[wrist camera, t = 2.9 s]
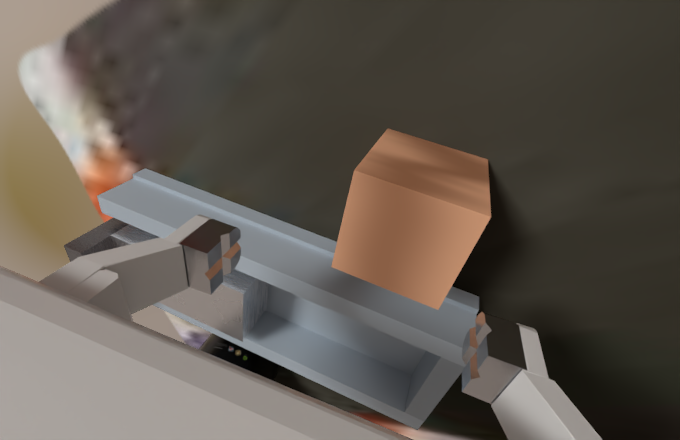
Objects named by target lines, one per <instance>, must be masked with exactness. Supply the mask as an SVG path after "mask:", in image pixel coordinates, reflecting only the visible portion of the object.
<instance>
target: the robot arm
mask: <svg viewBox="0 0 680 440" xmlns="http://www.w3.org/2000/svg"><path fill="white" fill-rule="evenodd" d="M240 238H241V233H240V229H238V228H237V227H234V226H231V225H229V224H226V223H223V222H220V221H218V220H215V219H211V218H209V217H206V216H203V215H201V214H200V215H196V216H194V217H193V218H191V219H190V220H189V221H187V222H186V223H185V224H183V225H182V226H181V227H179V228H178V229H177V230H175V231H174V232H173V233H171V234H170V235H168V236H167V237H166V238H161V237H159V238H155V239H151V240H147V241H143V242H139V243H134V244H130V245H126V246H122V247H118V248H114V249H109V250H105V251H101V252H97V253H93V254H89V255H84V256H80V257H78V258H76V259H75V260H73V261H71V262H70V263H68V264H67V265H65V266H63V267H62V268H60V269H59V270H57V271H55V272H54V273H52V274H51V275H49V276H47V277H46V278H44V279H43V280H41V281H39V282H37V281H35V280H33V279H30V278H28V277H26V276H23V275H21V274H18V273H16V272H14V271H11V270H9V269H7V268H4V267H2V266H0V440H412V439H410V438H408V437H405V436H403V435H401V434H398V433H396V432H393V431H391V430H389V429H386V428H384V427H382V426H379V425H377V424H374V423H372V422H370V421H367V420H365V419H362V418H360V417H358V416H355V415H353V414H351V413H348V412H346V411H343V410H341V409H339V408H336V407H334V406H332V405H329V404H327V403H324V402H322V401H320V400H317V399H315V398H313V397H310V396H308V395H305V394H303V393H301V392H298V391H296V390H294V389H291V388H289V387H286V386H284V385H282V384H279V383H277V382H275V381H272V380H270V379H267V378H265V377H263V376H260V375H258V374H256V373H253V372H251V371H248V370H246V369H244V368H241V367H239V366H237V365H234V364H232V363H229V362H227V361H225V360H222V359H220V358H218V357H215V356H213V355H211V354H208V353H206V352H203V351H201V350H199V349H196V348H194V347H192V346H189V345H187V344H184V343H182V342H179V341H177V340H175V339H172V338H170V337H168V336H165V335H163V334H160V333H158V332H156V331H154V330H151V329H149V328H146V327H144V326H142V325H139V324H137V323H135V322H133V319H132V316H131V314H133V313H135V312H137V311H140V310H142V309H144V308H146V307H148V306H150V305H153V304H155V303H157V302H159V301H161V300H164V299H166V298H168V297H170V296H172V295H174V294H177V293H179V292H181V291H183V290H185V289H188V287H190V288H193V289H196V290H199V291H202V292H205V293H207V294H210V295H211V294H212V293H213V292H214V291H215V290H216V289H217V288H218V287H219V286H220V284H221V283H222V282H223V276H224V275H226V274H229V273H231V272H232V271H233V270H234V269H235V268H236V266H237V264H238V262H239V260H240V256H241V247H240V246H239V244H238V242H237V241H238V240H239V239H240ZM475 324H476V327H473V328H470V329H469V331H468V332H467V334H466V336H465V339H464V342H463V347H462V359H463V361H464V363H465V364H466V366H465V367H464V369H463V370H462V392H463V393H466V394H468V395H471V396H473V397H475V398H478V399H480V400H483V401H485V402H488V403H490V404H492V405H491V407H492V409H493V411H494V412H495V414H496V416H497V418H498V420H499V422H500V424H501V426H502V428H503V430H504V432H505V434H506V436H507V438H508V440H602V439H601V437H600V436H599V435H598V434H597V432H596V431H595V430H594V429H593V428H592V426H591V425H590V424H589V423H588V421H587V420H586V419H585V418H584V417H583V415H582V414H581V413H580V412H579V410H578V409H577V408H576V407H575V405H574V404H573V403H572V402H571V401H570V399H569V398H568V397H567V396H566V394H565V393H564V392H563V391H562V390H561V388H560V387H559V386H558V385H557V383H556V382H555V381H553V380H551V379H549V377H548V373H547V369H546V365H545V361H544V357H543V353H542V349H541V345H540V341H539V337H538V333H537V331H536V330H535V329H534V328H531V327H528V326H525V325H521V324H518V323H515V322H512V321H509V320H506V319H503V318H500V317H497V316H494V315H491V314H488V313H485V312H481V313H480V314H479V315H478V316H477V318H476V319H475Z"/></svg>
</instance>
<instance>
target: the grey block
mask: <svg viewBox="0 0 680 440" xmlns="http://www.w3.org/2000/svg"><path fill="white" fill-rule="evenodd" d="M155 238H159V237H158V236H156V235H153V234H151V233H149V232H146V231H144V230H142V229H139V228H137V227H135V226H132V225H130V224H128V223H125V222H123V221H121V220H118V219H116V218H112V219H110V220H109V221H107V222H105V223H103V224H101V225H100V226H98V227H96V228H94V229H93V230H91V231H89V232H87V233H85V234H84V235H82V236H80V237H78V238H77V239H75V240H73V241H71V242H69V243H68V244H66V245H64V247H65V250H66V252H67V255H68V257H69V259H70V262H71V261H73V260H75V259H76V258H78V257H80V256H84V255H89V254H93V253H97V252H101V251H105V250H109V249H114V248H118V247H122V246H126V245H130V244H134V243H139V242H143V241H147V240H151V239H155ZM268 295H269V284H268V283H266V282H264V281H261V280H259V279H257V278H254V277H252V276H250V275H247V274H245V273H243V272H240V271H238V270H236V269H234V270H233V271H232V272H231V273H229V274H226V275H224V276H223V282H222V283H221V284H220V286H219V287H218V288H217V289H216V290H215V291H214V292H213V293H212V294H211V295H210V294H207V293H205V292H202V291H199V290H196V289H193V288H190V287H188V289H185V290H183V291H181V292H179V293H177V294H174V295H172V296H170V297H168V298H166V299H164V300H161V301H159V303H161V304H163V305H165V306H167V307H169V308H172V309H174V310H176V311H178V312H180V313H182V314H184V315H187V316H189V317H191V318H193V319H195V320H197V321H199V322H201V323H204V324H206V325H208V326H210V327H212V328H214V329H216V330H218V331H221V332H223V333H225V334H227V335H229V336H231V337H233V338H236V339H238V340H240V341H242V342H243V340H244V339H245V338H246V336H247V335H248V333H249V332H250V331H251V329H252V328H253V327H254V325H255V324H256V322H257V321H258V320H259V318H260V317H261V315H262V314H263V313H264V311H265V310H266V308H267V307H268Z"/></svg>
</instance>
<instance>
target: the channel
mask: <svg viewBox="0 0 680 440" xmlns="http://www.w3.org/2000/svg"><path fill="white" fill-rule="evenodd" d="M97 197H98V201H99V204H100V207H101V211H102V213H104V214H106V215H109V216H111V217H114V218H116V219H118V220H121V221H123V222H125V223H128V224H130V225H132V226H135V227H137V228H139V229H142V230H144V231H146V232H149V233H151V234H153V235H156V236H158V237H161V238H166V237H167V236H168V235H170V234H171V233H173V232H174V231H175V230H177V229H178V228H179V227H181V226H182V225H183V224H185V223H186V222H187V221H189V220H190V219H191V218H193V217H194V216H196V215H200V214H201V215H203V216H206V217H209V218H211V219H215V220H218V221H220V222H223V223H226V224H229V225H231V226H234V227H237V228H238V229H240V233H241V238H240V239H239V240H238V241H237V242H238V244H239V246H240V247H241V256H240V260H239V262H238V264H237V266H236V268H235V269H236V270H238V271H240V272H243V273H245V274H247V275H250V276H252V277H254V278H257V279H259V280H261V281H264V282H266V283H268V284H269V295H268V307H267V308H266V310H265V311H264V313H263V314H262V315H261V317H260V318H259V320H258V321H257V322H256V324H255V325H254V327H253V328H252V329H251V331H250V332H249V333H248V335H247V336H246V338H245V339H244V340H243V342H242V341H240V340H238V339H236V338H233V337H231V336H229V335H227V334H225V333H223V332H221V331H218V330H216V329H214V328H212V327H210V326H208V325H206V324H204V323H201V322H199V321H197V320H195V319H193V318H191V317H189V316H187V315H184V314H182V313H180V312H178V311H176V310H174V309H172V308H169V307H167V306H165V305H163V304H161V303H159V302H157V303H155V304H153V305H154V306H156V307H158V308H160V309H162V310H164V311H167V312H169V313H171V314H173V315H175V316H177V317H179V318H181V319H184V320H186V321H188V322H190V323H192V324H194V325H196V326H198V327H200V328H203V329H205V330H207V331H209V332H211V333H213V334H215V335H217V336H219V337H222V338H224V339H226V340H228V341H230V342H232V343H234V344H236V345H238V346H241V347H243V348H245V349H247V350H249V351H251V352H253V353H255V354H258V355H260V356H262V357H264V358H266V359H268V360H270V361H272V362H274V363H277V364H279V365H281V366H283V367H285V368H287V369H289V370H291V371H293V372H296V373H298V374H300V375H302V376H304V377H306V378H308V379H310V380H313V381H315V382H317V383H319V384H321V385H323V386H325V387H327V388H329V389H332V390H334V391H336V392H338V393H340V394H342V395H344V396H346V397H348V398H351V399H353V400H355V401H357V402H359V403H361V404H363V405H365V406H367V407H370V408H372V409H374V410H376V411H378V412H380V413H382V414H384V415H387V416H389V417H391V418H393V419H395V420H397V421H399V422H401V423H403V424H406V425H408V426H410V427H412V428H414V429H416V430H418V429H419V427H420V426H421V425H422V424H423V422H424V421H425V420H426V418H427V417H428V416H429V414H430V413H431V412H432V410H433V409H434V408H435V407H436V405H437V404H438V403H439V401H440V400H441V399H442V397H443V396H444V395H445V394H446V392H447V391H448V390H449V388H450V387H451V386H452V384H453V383H454V382H455V381H456V379H457V378H458V377H459V375H460V374H461V373H462V370H463V369H464V367H465V366H466V364H465V363H464V361H463V359H462V347H463V342H464V339H465V336H466V334H467V332H468V331H469V329H470V328H473V327H476V324H475V319H476V314H477V312H478V311H479V297H478V296H476V295H473V294H471V293H468V292H465V291H463V290H460V289H458V288H455V287H451V289H450V290H449V292H448V294H447V296H446V297H445V299H444V301H443V303H442V304H441V306H440V308H439V310H437V309H434V308H432V307H429V306H427V305H424V304H422V303H419V302H417V301H414V300H412V299H409V298H407V297H404V296H402V295H399V294H397V293H394V292H392V291H390V290H387V289H385V288H382V287H380V286H377V285H375V284H372V283H370V282H367V281H365V280H362V279H360V278H357V277H355V276H352V275H350V274H347V273H345V272H342V271H340V270H337V269H335V268H333V267H331V266H332V261H333V257H334V253H335V249H336V245H337V242H335V241H333V240H330V239H328V238H325V237H322V236H320V235H317V234H315V233H312V232H309V231H307V230H304V229H302V228H299V227H296V226H294V225H291V224H289V223H286V222H283V221H281V220H278V219H276V218H273V217H270V216H268V215H265V214H263V213H260V212H257V211H255V210H252V209H250V208H247V207H244V206H242V205H239V204H237V203H234V202H231V201H229V200H226V199H224V198H221V197H218V196H216V195H213V194H211V193H208V192H205V191H203V190H200V189H198V188H195V187H192V186H190V185H187V184H185V183H182V182H179V181H177V180H174V179H172V178H169V177H166V176H164V175H161V174H159V173H156V172H153V171H151V170H148V169H146V168H145V169H143V170H141V171H139V172H137V173H134V174H133V179H131V180H129V181H127V182H125V183H123V184H121V185H119V186H117V187H115V188H113V189H110V190H108V191H106V192H104V193H102V194H100V195H98V196H97Z"/></svg>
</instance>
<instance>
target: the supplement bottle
mask: <svg viewBox="0 0 680 440" xmlns="http://www.w3.org/2000/svg"><path fill="white" fill-rule="evenodd" d="M199 350H201V351H203V352H206V353H208V354H211V355H213V356H215V357H218V358H220V359H222V360H225V361H227V362H229V363H232V364H234V365H237V366H239V367H241V368H244V369H246V370H248V371H251V372H253V373H256V374H258V375H260V376H263V377H265V378H267V379H270V380H272V381H274V379H275V377H276V375H277V372H278V364H277V363H274V362H272V361H270V360H268V359H266V358H264V357H262V356H260V355H258V354H255V353H253V352H251V351H249V350H247V349H245V348H243V347H241V346H238V345H236V344H234V343H232V342H230V341H228V340H226V339H224V338H222V337H219V336H217V335H215V334H213V333H212V334H211V335H210V336H209V337H208V339H207V340H206V341H205V342H204V343H203V344H202V346H201V347H200V348H199Z"/></svg>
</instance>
